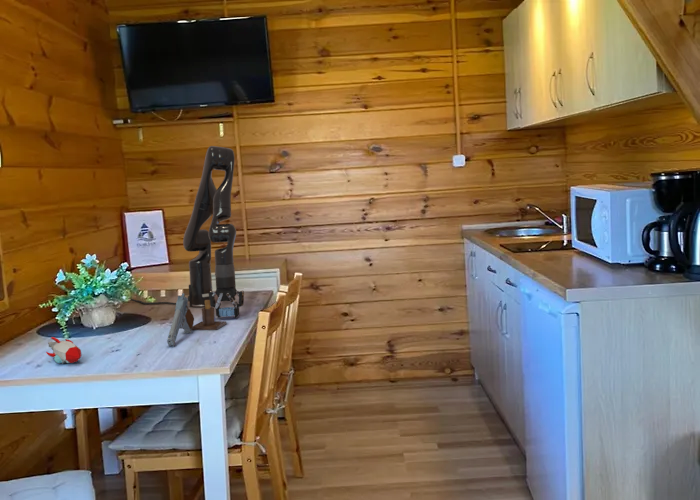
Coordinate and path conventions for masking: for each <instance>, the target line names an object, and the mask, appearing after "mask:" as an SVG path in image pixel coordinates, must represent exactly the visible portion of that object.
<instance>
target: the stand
mask: <svg viewBox="0 0 700 500" xmlns="http://www.w3.org/2000/svg"><path fill="white" fill-rule="evenodd" d="M201 319H202V320H201V321H199V322H198V323H196V324H193V328H192V331H217V330H219V329H221V328H222V327H224V326H226V325H227V323H228V322H227V321H226V320H223V321H221V320H218V321H216V320H215V319H216V318H215V308H214V307H211V306H210V300H205V307H201Z"/></svg>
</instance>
